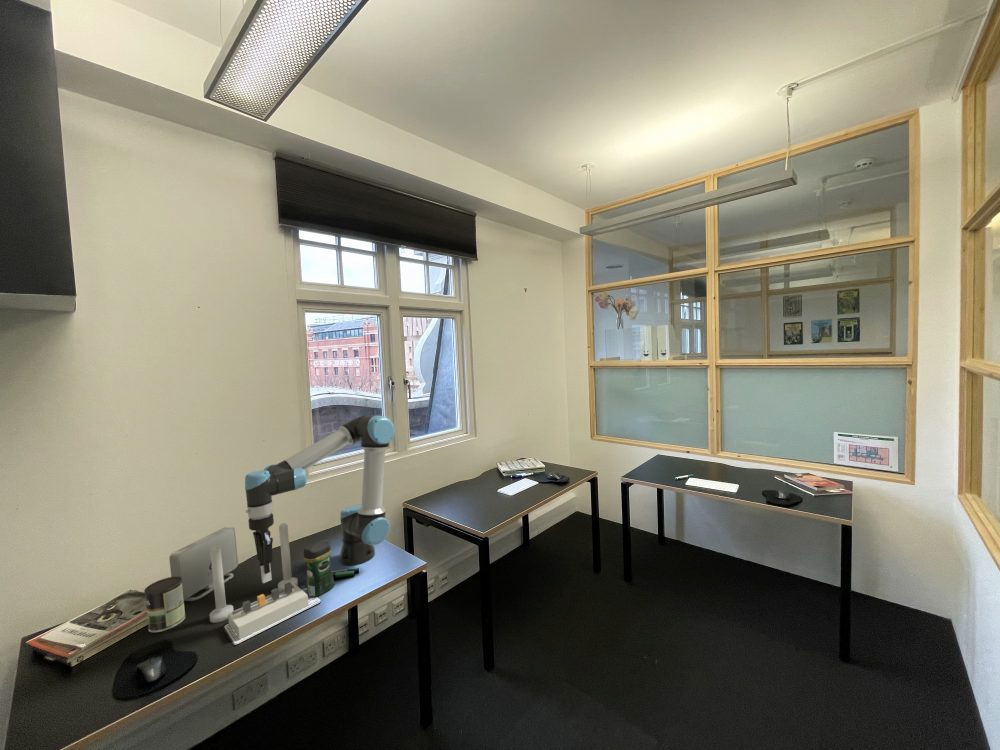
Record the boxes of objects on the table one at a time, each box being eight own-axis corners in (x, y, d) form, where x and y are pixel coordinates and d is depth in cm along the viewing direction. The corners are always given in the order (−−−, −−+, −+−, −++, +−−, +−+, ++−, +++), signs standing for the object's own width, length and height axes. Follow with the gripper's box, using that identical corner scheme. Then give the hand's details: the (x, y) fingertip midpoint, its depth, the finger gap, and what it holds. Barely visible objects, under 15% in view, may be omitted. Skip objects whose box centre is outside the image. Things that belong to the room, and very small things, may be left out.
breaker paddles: (292, 590, 149) (292, 581, 149) (295, 592, 148) (294, 582, 148) (240, 613, 137) (239, 603, 137) (242, 616, 135) (241, 606, 135)
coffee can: (146, 637, 135) (142, 596, 134) (149, 622, 143) (145, 584, 142) (185, 623, 141) (181, 584, 140) (186, 610, 149) (182, 573, 148)
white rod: (298, 580, 165) (294, 518, 164) (296, 589, 158) (291, 524, 157) (279, 584, 162) (274, 521, 161) (276, 594, 156) (271, 528, 155)
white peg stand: (236, 608, 148) (229, 539, 147) (230, 619, 142) (223, 547, 140) (213, 613, 146) (206, 543, 145) (207, 625, 139) (199, 551, 138)
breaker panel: (295, 594, 155) (294, 583, 155) (308, 605, 147) (307, 594, 146) (229, 624, 138) (227, 612, 138) (239, 639, 130) (238, 626, 130)
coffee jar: (325, 581, 163) (322, 536, 162) (337, 586, 158) (334, 540, 157) (303, 594, 154) (298, 547, 154) (315, 599, 150) (310, 551, 149)
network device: (187, 606, 151) (181, 555, 150) (168, 605, 153) (163, 554, 152) (243, 570, 176) (238, 526, 175) (226, 569, 178) (222, 525, 177)
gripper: (243, 515, 143) (249, 579, 144) (254, 523, 134) (261, 592, 135) (266, 508, 148) (271, 570, 149) (278, 516, 139) (284, 582, 140)
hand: (266, 580), depth 142 cm, fingers closed
